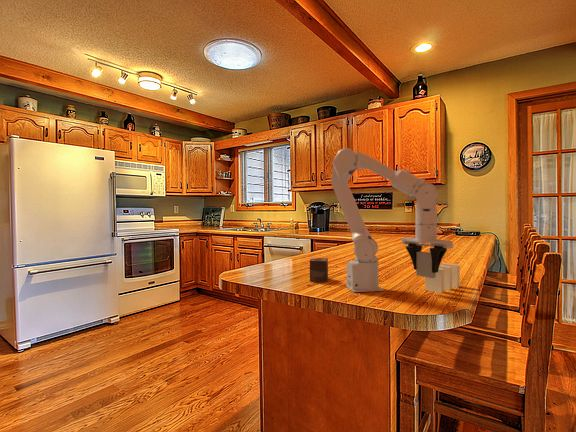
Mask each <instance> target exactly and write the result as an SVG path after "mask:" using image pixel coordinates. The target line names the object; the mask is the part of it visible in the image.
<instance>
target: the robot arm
mask: <svg viewBox="0 0 576 432" xmlns="http://www.w3.org/2000/svg"><path fill="white" fill-rule="evenodd" d="M357 169H358V170H369V171H371V172H373V173H375V174H376V175H379V176H380V177H383V178H385V179H386V180H389V181H390V184H391V185H390V186H391V187H392V188H394V189H396V190H398V191H400V192H401V193H402V194H403V193H404V194H406V195H407V196H409V197H414V198H415V200H416V208H415V228H414V230H415V234H414V235H415V237H401V244H402V245H407V246H405V250H406V251H407V253H408V254H409V256H410V260H411V262H412V265H413V266H412V267H413V269H414V270H415V271H416V270H417V266H416V252H419V251H420V252H422V250H423V249H422V248H423V247H430V248H429V253H431V258H432V273H436V272H438V270H439V266H440V265H441V264H442V263H441V262H442V261H443V258H444V256H445V254H446V253H447V251H448V249H449V250H450V249H453V248H454V241H453V240H444V239H438V238H437V237H438V236H437V235H438V231H437V230H438V227H437V226H438V209H437V201H436V200H437V198H438V197H439V192H438V189H437V187H436V186H435V185H434V183H433V184H432V183H429V182H425V181H426V179H425V178H419V177H417V176H416V175H414V174H412V173H411V171H410V170H409V169H406V170H404V169H399V170H394V169H392V168H390V167H389V166H387V165H385V164H384V163H382V162H381V161H378V160H376V159H375V158H373V157H371V156H369V155H368V154H367V155H366V154H364V153H362V152H360V151H357V150H355V151H354V150H353V149H352V148H348V147H344V148H343V147H342V148H341V149H339V150H338V151H337V152H336V155H335V156H334V158H333V159H332V170H331V176H330V177H331V178H330V184H331V187H332V188H333V189H332V190H334V194H335V196H336V198H337V201H338V203H339V206H340V208H341V211H342V213H343V215H344V218H345V220H346V223H347V225H348V228H349V230H350V233H351V238H352V242H353V245H354V247H353V248H354V249H353V250H354V255H355V257H354V260H350V261H347V262H346V263H347V264H346V284H345V287H346V288H348V289H350V291H352V292H353V293H363V292H365V293H366V292H367V293H368V292H369V293H370V292H384V291H385V290H384V289H383V288H382V287H381V286H379V258H378V257H377V255H376V254H377V253H378V251H379V244H378V243H377V241H376V240H375V239H374V238H373V237H372V236H371V235H372V234H371V233H370V232H369V230H368V228H367V226H366V224H365V222H364V221H365V220H363V219H364V218H363V217H362V214H361V212H360V209H359V207H358V205H357V202H356V200H355V197H354V195H353V192H352V191H351V188H350V185H349V181H350V179H351V176H352V175H353V173H355V171H357Z"/></svg>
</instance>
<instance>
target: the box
mask: <svg viewBox="0 0 576 432" xmlns="http://www.w3.org/2000/svg"><path fill="white" fill-rule="evenodd" d="M328 279H329V260H328V258H326V257H325V258H323V257H321V258H319V257H317V258H316V257H315V258H313V257H312V258H311V259H310V260H309V282H314V281H319V282H320V281H321V283H326V282H328ZM319 282H318V283H319Z"/></svg>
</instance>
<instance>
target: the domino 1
mask: <svg viewBox="0 0 576 432" xmlns="http://www.w3.org/2000/svg"><path fill="white" fill-rule="evenodd" d="M416 266H417V270H415V272H416V274H415V275H416V276H418V277H422V278H423V277H424V278H425V277H429V278H435V277H436V273H432V258H431V253H430V251H429V252H428V251H421V252H420V251H419V252H416Z"/></svg>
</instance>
